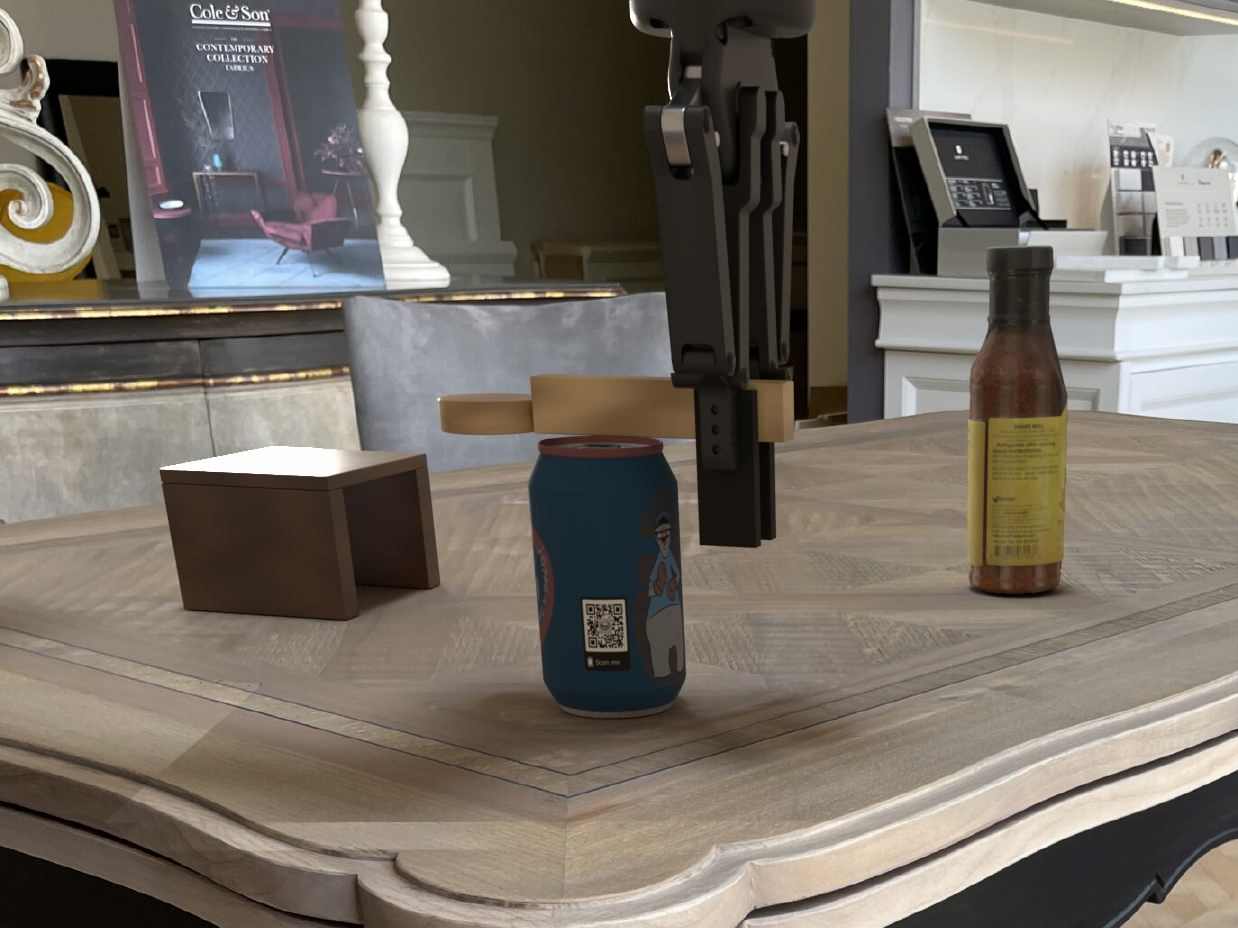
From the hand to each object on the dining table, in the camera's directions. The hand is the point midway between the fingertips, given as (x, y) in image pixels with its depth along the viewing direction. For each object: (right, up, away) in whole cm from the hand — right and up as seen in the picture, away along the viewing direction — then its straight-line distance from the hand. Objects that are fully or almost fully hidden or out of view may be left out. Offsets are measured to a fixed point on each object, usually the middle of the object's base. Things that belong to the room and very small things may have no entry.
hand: (738, 540), depth 78 cm
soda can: (-6, -6, +5) cm, 10 cm away
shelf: (-29, +7, +29) cm, 41 cm away
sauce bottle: (+15, +9, +33) cm, 37 cm away
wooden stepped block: (-6, +5, -1) cm, 8 cm away
